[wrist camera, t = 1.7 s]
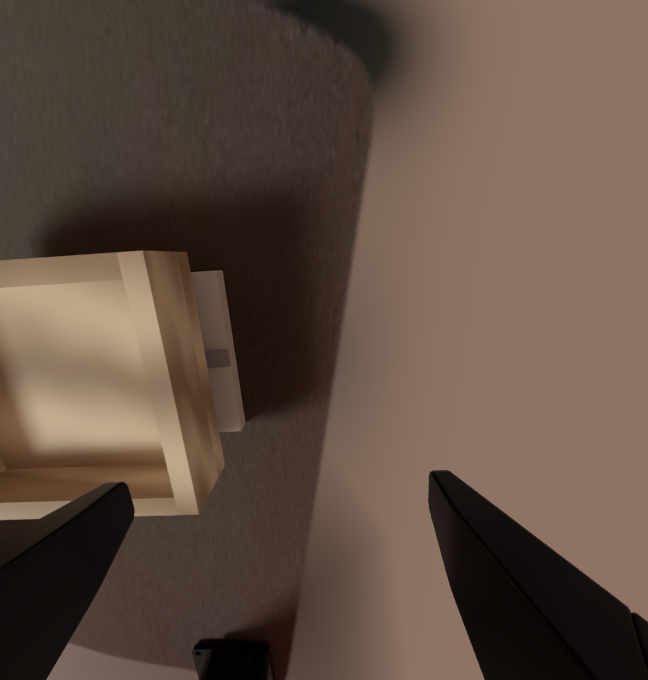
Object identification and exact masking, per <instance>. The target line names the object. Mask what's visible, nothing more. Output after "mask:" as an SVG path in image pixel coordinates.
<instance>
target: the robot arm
mask: <svg viewBox="0 0 648 680" xmlns="http://www.w3.org/2000/svg"><path fill="white" fill-rule="evenodd" d="M428 503H429V510H430V514H431V518H432V521H433V525H434V528H435V532H436V536H437V540H438V543H439V547H440V551H441V555H442V558H443V562H444V566H445V570H446V573H447V577H448V580H449V583H450V587H451V590H452V592H453V596H454V598H455V602H456V604H457V607H458V609H459V612H460V615H461V618H462V620H463V623H464V626H465V628H466V631H467V634H468V636H469V639H470V642H471V644H472V647H473V650H474V652H475V655H476V658H477V660H478V663H479V666H480V668H481V671H482V674H483V677H484V679H485V680H648V621H646V620H645V619H644V618H642V617H641V616H640V615H638V614H637V613H635V612H633V613H631V612H630V609H629V608H628V607H627V606H626V605H625V604H623V603H622V602H621V601H620V600H618V599H617V598H616V597H614V596H613V595H612V594H610V593H609V592H608V591H606V590H605V589H604V588H603V587H601V586H600V585H599V584H597V583H596V582H595V581H593V580H592V579H591V578H589V577H588V576H587V575H585V574H584V573H583V572H582V571H580V570H579V569H578V568H576V567H575V566H574V565H572V564H571V563H570V562H568V561H567V560H566V559H565V558H563V557H562V556H560V555H559V554H558V553H557V552H555V551H554V550H553V549H551V548H550V547H549V546H547V545H546V544H545V543H543V542H542V541H541V540H540V539H538V538H537V537H536V536H534V535H533V534H532V533H530V532H529V531H528V530H526V529H525V528H524V527H522V526H521V525H520V524H519V523H517V522H516V521H515V520H513V519H512V518H510V517H509V516H508V515H507V514H505V513H504V512H503V511H501V510H500V509H499V508H498V507H496V506H495V505H494V504H492V503H491V502H490V501H488V500H487V499H486V498H484V497H483V496H482V495H480V494H479V493H478V492H477V491H475V490H474V489H472V488H471V487H470V486H469V485H467V484H466V483H465V482H463V481H462V480H461V479H459V478H458V477H457V476H455V475H454V474H453V473H452V472H450V471H448V470H436V471H431V472H430V474H429V494H428ZM134 514H135V508H134V504H133V501H132V497H131V494H130V490H129V487H128V485H127V484H126V483H125V482H107V483H105V484H103V485H101V486H99V487H97V488H95V489H93V490H92V491H90V492H88V493H86V494H84V495H82V496H81V497H79V498H77V499H75V500H73V501H71V502H69V503H68V504H66V505H64V506H62V507H60V508H58V509H57V510H55V511H53V512H51V513H49V514H47V515H46V516H44V517H42V518H40V519H38V520H36V521H34V522H33V523H31V524H29V525H27V526H25V527H23V528H22V529H20V530H18V531H16V532H14V533H12V534H10V535H9V536H7V537H5V538H3V539H1V540H0V680H46V679H47V678H48V676H49V674H50V672H51V671H52V669H53V667H54V666H55V664H56V662H57V660H58V659H59V657H60V655H61V654H62V652H63V650H64V649H65V647H66V645H67V644H68V642H69V640H70V638H71V637H72V635H73V633H74V632H75V630H76V628H77V627H78V625H79V623H80V621H81V620H82V618H83V616H84V615H85V613H86V611H87V610H88V608H89V606H90V604H91V603H92V601H93V599H94V597H95V595H96V594H97V592H98V590H99V588H100V586H101V584H102V582H103V580H104V578H105V576H106V574H107V572H108V570H109V568H110V566H111V564H112V562H113V560H114V558H115V556H116V554H117V552H118V550H119V548H120V546H121V544H122V542H123V539H124V537H125V535H126V533H127V531H128V529H129V527H130V525H131V523H132V521H133V518H134ZM192 654H193V658H194V662H195V665H196V669H197V673H198V677H199V680H274V673H273V667H272V661H271V655H270V649H269V646H268V645H267V644H265V643H222V644H196V645H195V646H194V649H193V652H192Z"/></svg>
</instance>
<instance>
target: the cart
mask: <svg viewBox="0 0 648 680" xmlns="http://www.w3.org/2000/svg"><path fill="white" fill-rule="evenodd" d="M224 466H225V464H224V459H223V453H222V447H221V442H220V436H219V430H218V425H217V419H216V413H215V408H214V402H213V396H212V391H211V385H210V379H209V374H208V368H207V362H206V357H205V351H204V345H203V340H202V334H201V328H200V323H199V317H198V311H197V306H196V300H195V294H194V289H193V283H192V277H191V272H190V266H189V260H188V255H187V252H170V251H129V252H115V253H101V254H87V255H73V256H58V257H44V258H30V259H16V260H2V261H0V520H17V519H40V518H42V517H44V516H46V515H47V514H49V513H51V512H53V511H55V510H57V509H58V508H60V507H62V506H64V505H66V504H68V503H69V502H71V501H73V500H75V499H77V498H79V497H81V496H82V495H84V494H86V493H88V492H90V491H92V490H93V489H95V488H97V487H99V486H101V485H103V484H105V483H107V482H125V483H126V484H127V485H128V487H129V490H130V494H131V497H132V501H133V504H134V508H135V514H134V516H163V515H199V513H200V512H201V510H202V508H203V506H204V504H205V502H206V500H207V498H208V496H209V494H210V492H211V491H212V489H213V487H214V485H215V483H216V481H217V479H218V477H219V475H220V473H221V472H222V470H223V468H224Z"/></svg>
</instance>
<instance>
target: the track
mask: <svg viewBox="0 0 648 680" xmlns="http://www.w3.org/2000/svg"><path fill="white" fill-rule="evenodd" d="M191 277H192V283H193V289H194V294H195V300H196V306H197V311H198V317H199V323H200V328H201V334H202V340H203V345H204V351H205V357H206V362H207V368H208V374H209V379H210V385H211V391H212V396H213V402H214V408H215V413H216V419H217V425H218V430H219V432H228V431H241V430H242V428H243V426H244V424H245V417H244V410H243V404H242V397H241V390H240V383H239V377H238V370H237V363H236V357H235V350H234V343H233V337H232V330H231V323H230V316H229V310H228V303H227V296H226V290H225V283H224V276H223V270H217V271H202V272H191Z"/></svg>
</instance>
